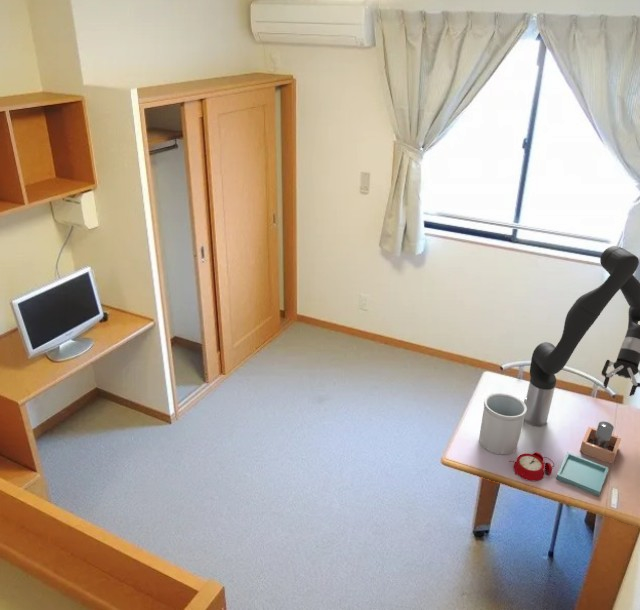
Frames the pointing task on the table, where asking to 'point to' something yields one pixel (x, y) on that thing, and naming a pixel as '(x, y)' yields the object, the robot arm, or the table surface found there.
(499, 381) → the table surface
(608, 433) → the canister
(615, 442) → the light orange open box
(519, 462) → the alarm clock
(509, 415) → the utensil holder
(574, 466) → the teal tray
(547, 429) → the table surface
